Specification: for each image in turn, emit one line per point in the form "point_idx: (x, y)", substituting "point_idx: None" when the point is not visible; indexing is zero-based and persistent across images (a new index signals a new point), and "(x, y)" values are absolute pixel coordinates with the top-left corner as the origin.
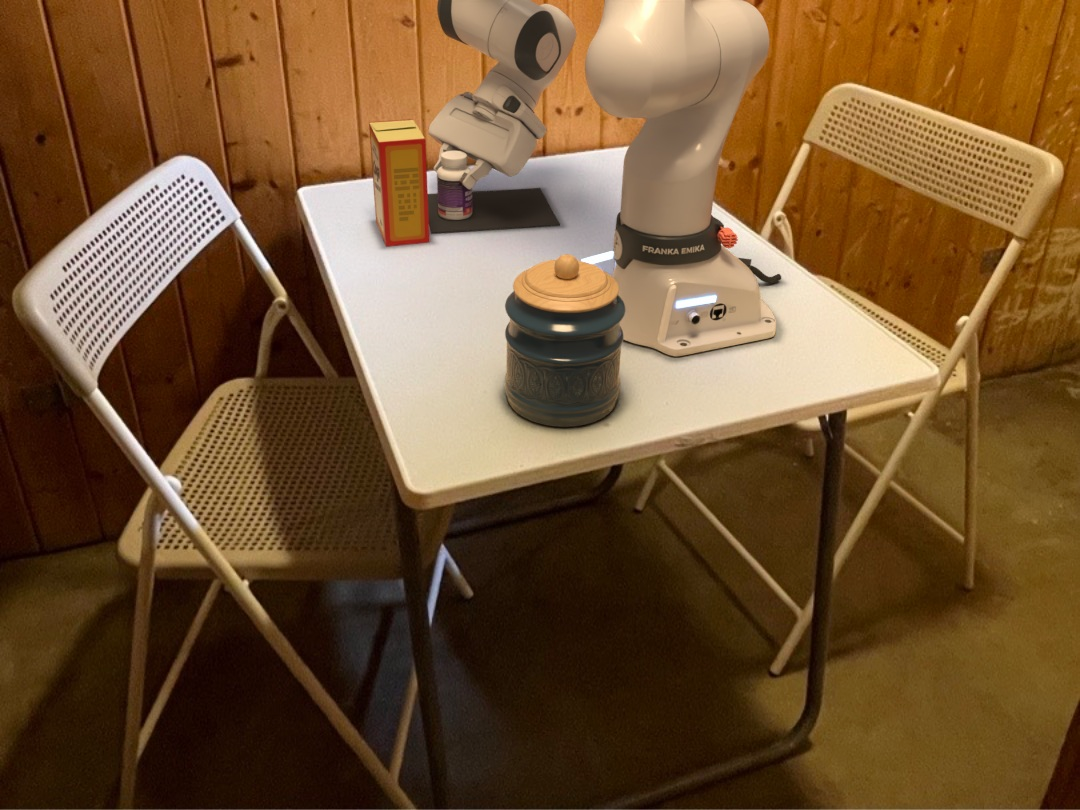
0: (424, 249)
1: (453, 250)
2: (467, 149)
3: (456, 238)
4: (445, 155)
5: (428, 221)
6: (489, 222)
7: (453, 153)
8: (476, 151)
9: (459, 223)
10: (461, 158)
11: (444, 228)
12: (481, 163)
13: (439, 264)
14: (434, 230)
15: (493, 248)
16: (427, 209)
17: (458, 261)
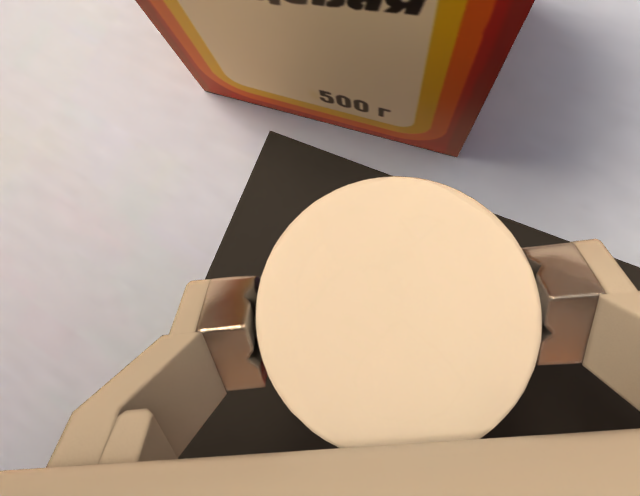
0: (161, 47)
1: (92, 137)
2: (303, 458)
3: (180, 201)
4: (415, 220)
5: (167, 41)
6: (222, 404)
7: (434, 330)
8: (126, 487)
9: None
10: (258, 326)
11: (273, 195)
12: (70, 445)
13: (25, 40)
14: (277, 148)
15: (20, 280)
16: (141, 2)
17: (6, 108)
